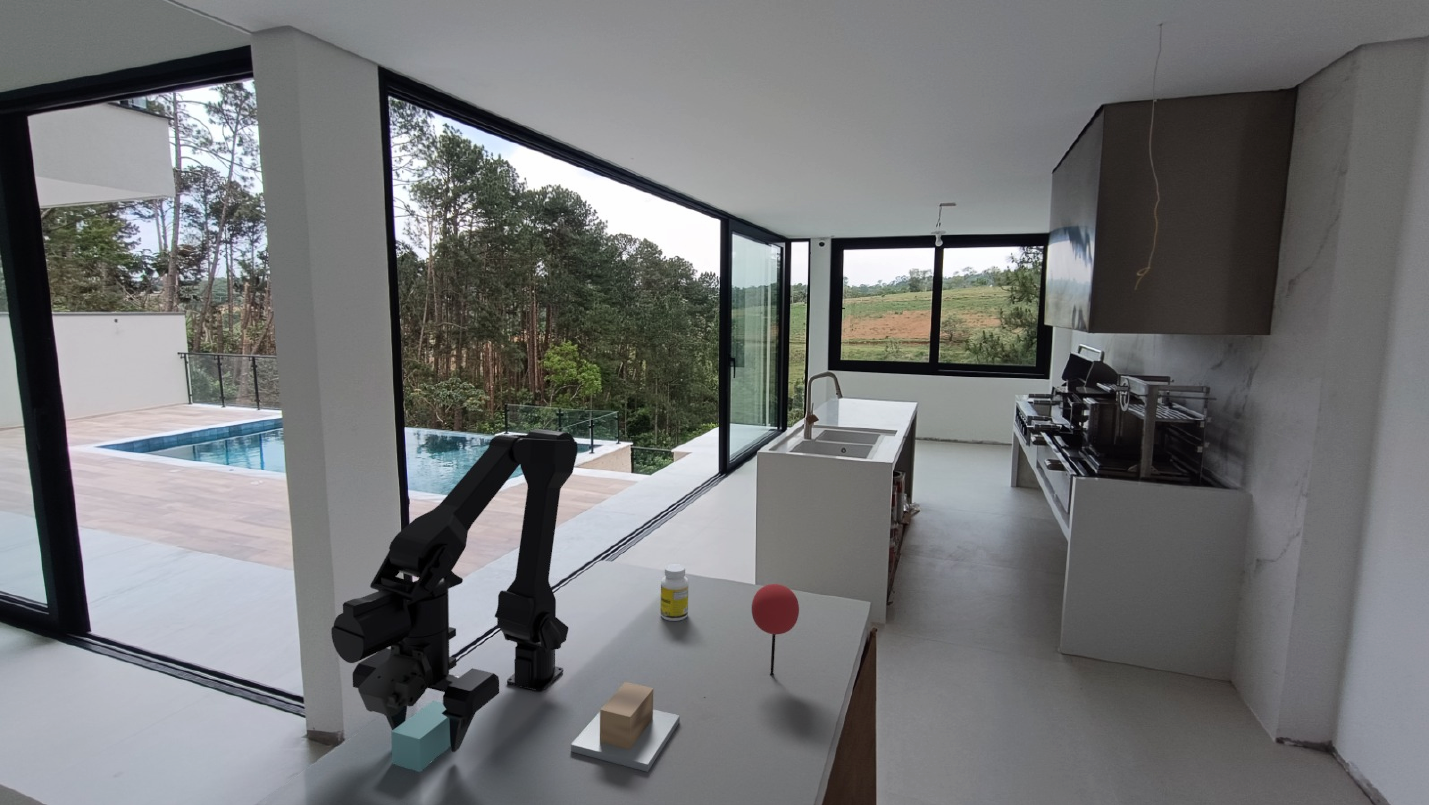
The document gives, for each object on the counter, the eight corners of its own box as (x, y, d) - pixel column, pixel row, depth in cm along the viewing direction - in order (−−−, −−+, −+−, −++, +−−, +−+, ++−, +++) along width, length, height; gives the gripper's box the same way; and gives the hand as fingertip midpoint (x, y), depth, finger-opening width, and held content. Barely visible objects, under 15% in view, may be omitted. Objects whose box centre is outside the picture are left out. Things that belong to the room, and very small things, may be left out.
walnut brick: (624, 711, 90) (625, 681, 90) (652, 718, 89) (653, 688, 89) (599, 741, 84) (600, 709, 83) (629, 749, 82) (630, 717, 82)
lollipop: (794, 689, 99) (799, 598, 98) (746, 683, 101) (749, 593, 99) (796, 665, 107) (800, 579, 105) (751, 659, 108) (755, 575, 106)
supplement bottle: (656, 612, 125) (657, 564, 124) (681, 608, 128) (682, 561, 126) (665, 623, 120) (667, 574, 119) (692, 619, 123) (693, 570, 122)
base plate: (610, 705, 93) (610, 699, 93) (679, 722, 90) (679, 715, 90) (570, 751, 83) (571, 744, 83) (647, 772, 80) (647, 764, 80)
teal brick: (433, 731, 86) (433, 700, 86) (460, 738, 85) (460, 707, 85) (392, 764, 80) (391, 731, 79) (420, 773, 78) (419, 739, 78)
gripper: (311, 642, 76) (316, 763, 77) (438, 672, 70) (440, 803, 72) (386, 605, 86) (389, 713, 88) (501, 629, 81) (502, 744, 82)
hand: (426, 741), depth 82 cm, fingers open, 9 cm apart
